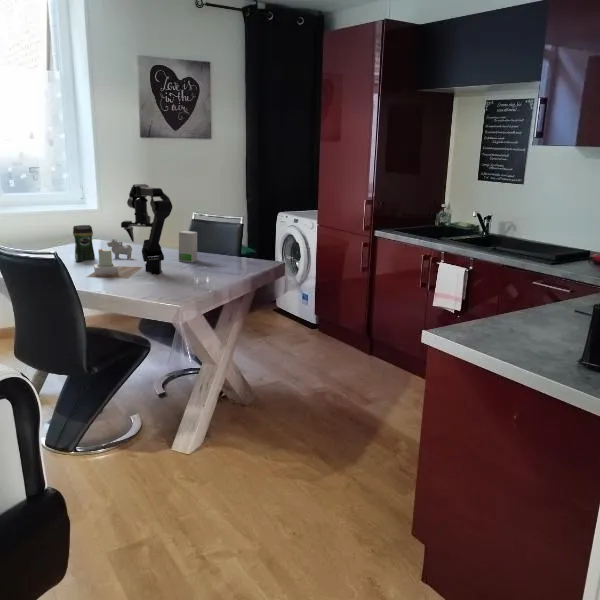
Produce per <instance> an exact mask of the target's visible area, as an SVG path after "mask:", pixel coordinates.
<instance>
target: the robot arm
mask: <svg viewBox="0 0 600 600" xmlns="http://www.w3.org/2000/svg"><path fill="white" fill-rule="evenodd" d="M128 196H129V197H128V199H127V201H126V204H127V206H128V207H129V209H130V208H131V209H133V210H134V219H135V221H134V222H133V221H132V220H122V221H121V223H120V228H123V230H125V231H126V232H127V234H128V236H129V238H130V240H131V242H132V243H134V242H135V237H134V227H142V228H150V233H149V237H148V239H144V240H143V244H142V248H141V255H142V260H143V262H144V263H145V262H146V263H145V265H144V267H145V273H146V272H147V273H151V274H152V275H160V274H161V273H163V270H162V261H164V260H165V255H164V253H163V250H162V246H161V245H160V240H161V236H162V232H163V228H164V224H165V222H166V221H165V220H167V218H169V216H170V215H171V212H172V210H173V204H172V201H171V199H170V197H169V196H168V195H167V194H166V193H164V191H163V189H162V188H160V187H151V186H150V187H149V185H148V184H146V183H139V184H138V183H137V184H136V183H135V184H133V185H132V186H131V187H130V191H129V193H128ZM147 197H150V202H149V201H148V198H147ZM154 198H160V199H161V200H154ZM148 202H149V204H150V207H151V211H152V213H153V214H154V215H153V219H152V220H153V221H152V222H151V216H149V211H148Z"/></svg>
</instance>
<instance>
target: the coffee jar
mask: <svg viewBox="0 0 600 600" xmlns="http://www.w3.org/2000/svg"><path fill="white" fill-rule="evenodd" d="M72 234H73V235H72V236H74V245H75V246H74V249H75V250H74V261H76V262H79V263H83V262H86V261H94V260H96V256H95V250H94V245H93V234H94V232H93V227H92V225H90V224H82V225H74V226H73V228H72Z"/></svg>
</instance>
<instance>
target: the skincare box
mask: <svg viewBox="0 0 600 600" xmlns="http://www.w3.org/2000/svg"><path fill="white" fill-rule="evenodd" d="M197 260H198V232H197V231H190V230H182V231H179V232H178V262H187V263H194V262H197Z"/></svg>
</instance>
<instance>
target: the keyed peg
mask: <svg viewBox="0 0 600 600" xmlns="http://www.w3.org/2000/svg"><path fill="white" fill-rule="evenodd" d="M98 262H99V263H98V264H99V267H104V266H112V263H113V259H112V250H111V249H103V248H98Z"/></svg>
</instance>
